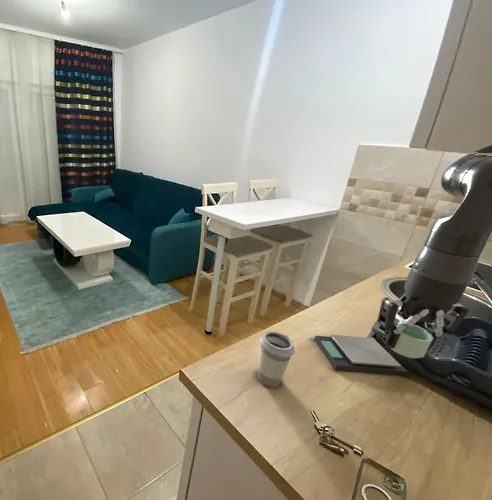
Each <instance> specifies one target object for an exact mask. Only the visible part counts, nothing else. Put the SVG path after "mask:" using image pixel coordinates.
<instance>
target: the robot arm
mask: <svg viewBox="0 0 492 500" xmlns="http://www.w3.org/2000/svg"><path fill="white" fill-rule="evenodd" d="M473 152H478V153H492V144H490V145H487V146H484V147H482V148H479V149H477V150H473ZM475 154H477V153H475ZM475 154H469V153H468V154H467V153H466V154H465V155H463V156H462V157H460V158H458V159H457V160H455V161H454V162H452V163H451V164H450V165H449V166H448V167H446V169H445V170H444V171H443V173H442V175H441V178H440V185H441V188H442V190H444V191H445V193H447V194H448V195H451V196H452V197H456V198H459V199H462V201H461V202H460V203H459V205H458V206H457V207H456V208H455V210H453V212H445V213H442V214H439V215H437V216H436V218H435V219H434V220H433V222H432V224H431V226H430V228H429V231H428V233H427V236H426V238H425V241H424V243H423V244H422V246H421V248H420V249H419V250H418V253H417V254H416V256H415V259H414V261H413V264H412V266H411V268H410V270H409V272H408V275H407V278H406V279H405V282H404V284H403V289H404V294H402V296H400V298H399V299H390V298H389V297H383V298H382V299H381V304H380V306H379V311H378V316H377V320H376V321H377V323H378V324H379V325H380V326H381V327H382V328H383V329H384V332H383V335H382V337H381V341H382V343H383V344H384V346H386V347H387V348H388V349H391V348H394V347H395V345H396V343H397V340H398V338H399V336H400V334H399V333H401V332H402V331H403V330H404V329H405V328H406V327H411V326H412V325H416V323H422V322H423V323H424V327H425V330H426V331H428V332H429V333H430V334H431V335H432V336H433V340H432V342H431V344H430V346H429V348H428V350H427V352H429V351H431V349H432V348H433V347H434V345H435V343H436V342H437V340H438V338H439V337H442V336H443V335H444V334H447V335H454V333H455V332H456V330H457V329H458V328H459V326H460V325H461V323H462V322H463V320H464V319H465V318H466V316H467V315H468V314H469V312H470V309H468V308H467V307H466V306H465V305H462V304H461V303H460V301H461V300H462V297H463V296H464V293H465V291H466V290H467V287H468V286H469V284H470V282H471V280H472V278H473V276H474V274H475V273H476V270H477V268H478V265H479V261H480V258H481V255H482V254H483V252H484V250H485V248H486V246H487V244H488V242H489V240H490V238H491V236H492V156H487V155H475ZM403 315H404V316H405V317H406V318H405V317H403ZM397 322H400V323H399V324H398V325H397V326H396V325H395V324H396V323H397ZM448 323H449V324H448Z"/></svg>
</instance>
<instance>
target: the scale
mask: <svg viewBox="0 0 492 500" xmlns="http://www.w3.org/2000/svg"><path fill="white" fill-rule="evenodd" d="M313 341H314V343H315V344H316V345H317V347H318V348H319V350H320V351H321V353H322V354H323V355H324V357H325V359H327V361H328V363H329V364H330V365H331V367H332V369H333V370H334V371H339V372H349V373H350V372H351V373H361V374H362V373H363V374H373V375H375V374H376V375H385V376H386V375H387V376H398V377H406V375H407V373H408V370H407V369H406V368H405V367H404V366H403V365H402V364H401V363H400V361H398V360H397V359H396V358H395V357H394V356H393V355H392V354H391V353H390V352H389V351H388V353H389V354H390V355H391V356H392V357H393V358H394V359H395V360H396V361H397V362H398V363H399V364H400V365H401V367H388V366H376V365H365V364H353V363H351V362H350V361H349V360H348V358H347V357H346V356H345V354H344V353H343V352H342V351H341V349H340V348H339V347H338V346H337V344H336V343H335V342H334V340H333V339H332V338H331V337H330V336H328V335H327V336H326V335H314V338H313Z"/></svg>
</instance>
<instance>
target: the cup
mask: <svg viewBox="0 0 492 500" xmlns="http://www.w3.org/2000/svg"><path fill="white" fill-rule="evenodd" d="M259 342H260V350H259V356H258V357H259V358H258V363H257V378H258V380H259V382H260V383H262V384H263V385H264V386H267V387H269V388H275V387H278V386H280V383H281V380H282V379H283V377H284V374H285V371H286V370H287V367H288V365H289V362H290V360H291V357H292V356H293V355H295V352H296V350H295V346H294V342H293V340H292V339H291V338H290V337H289V336H288V335H286V334H284V333H283V332H278V331H271V330H269V331H267V332H265V333H264V334H263V335H261V337H260V340H259Z"/></svg>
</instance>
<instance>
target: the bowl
mask: <svg viewBox="0 0 492 500" xmlns="http://www.w3.org/2000/svg"><path fill="white" fill-rule="evenodd" d="M399 323H400V321H398V322H397V323H396V324H395V325H396V326H397V325H398V324H399ZM425 329H426V328H425ZM425 329H424V328H422V327H421V326H419V325H416V324H414V325H412V326H411V327H406V328H405V329H404V330H403V331H402V332H401V333H399V334H400V336H399V338H398V340H397V343H396V345H395V347H394V348H390V349H391V350H392V351H393V352H395V353H396V354H398V355H400V356H403V357H405V358H409V359H419V358H420V359H421V358H424V357H425V356H426V354H427V352H428V351H427V350H428V348H429V346H430V344H431V342H432V340H433V336H432V335H431V334H430V333H429V332H428V331H426V330H425Z"/></svg>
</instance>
